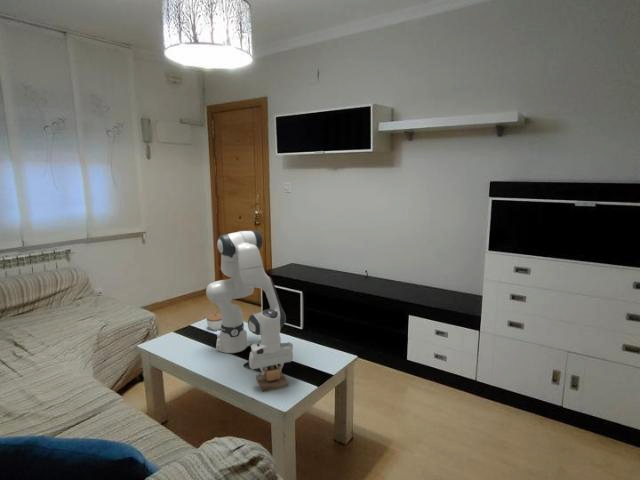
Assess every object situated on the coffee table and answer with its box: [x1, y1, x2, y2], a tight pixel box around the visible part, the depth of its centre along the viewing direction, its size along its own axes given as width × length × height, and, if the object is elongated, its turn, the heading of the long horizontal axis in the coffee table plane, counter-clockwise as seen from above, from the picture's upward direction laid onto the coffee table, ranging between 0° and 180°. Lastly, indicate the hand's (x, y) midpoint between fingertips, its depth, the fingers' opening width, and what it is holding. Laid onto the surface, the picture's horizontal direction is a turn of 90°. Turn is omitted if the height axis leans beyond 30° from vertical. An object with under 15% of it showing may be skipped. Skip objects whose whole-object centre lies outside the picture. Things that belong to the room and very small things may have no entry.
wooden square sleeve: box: [264, 364, 280, 382], centre depth 181 cm, size 6×6×5 cm
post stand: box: [255, 365, 289, 393], centre depth 181 cm, size 12×12×10 cm
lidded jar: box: [206, 312, 222, 331], centre depth 241 cm, size 11×11×9 cm
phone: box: [242, 360, 264, 374], centre depth 196 cm, size 8×1×15 cm
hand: (271, 373), depth 181 cm, fingers closed on wooden square sleeve, 6 cm apart
